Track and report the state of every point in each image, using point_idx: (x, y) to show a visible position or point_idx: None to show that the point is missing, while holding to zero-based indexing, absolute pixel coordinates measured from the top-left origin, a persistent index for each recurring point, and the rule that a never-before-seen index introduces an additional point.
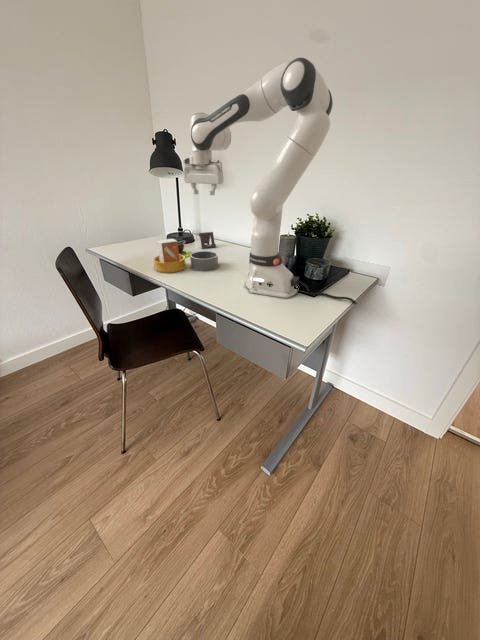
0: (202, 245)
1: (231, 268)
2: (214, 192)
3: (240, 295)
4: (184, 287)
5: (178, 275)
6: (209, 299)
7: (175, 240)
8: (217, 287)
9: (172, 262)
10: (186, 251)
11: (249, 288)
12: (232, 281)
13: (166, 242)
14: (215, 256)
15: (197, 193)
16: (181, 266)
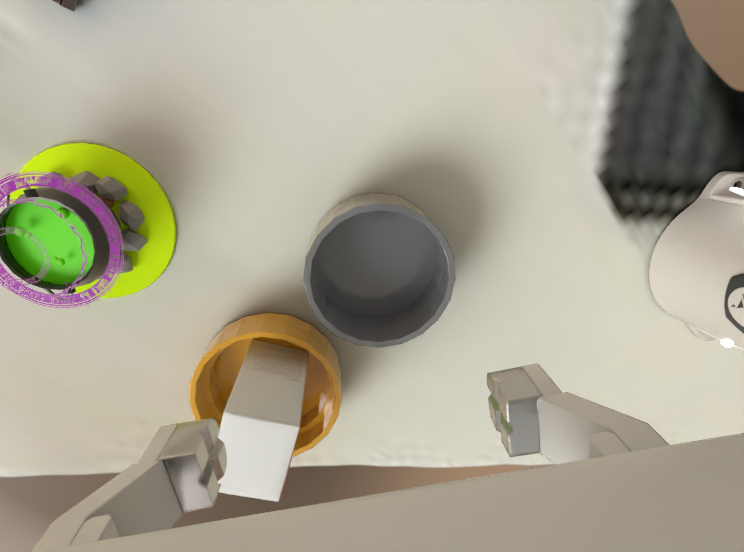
0: (64, 5)
1: (496, 191)
2: (551, 385)
3: (676, 373)
4: (479, 447)
5: (373, 399)
6: None
7: (279, 427)
8: (574, 378)
9: (332, 422)
10: (79, 150)
11: (687, 323)
12: (589, 305)
13: (282, 479)
14: (448, 258)
15: (215, 440)
16: (339, 370)
